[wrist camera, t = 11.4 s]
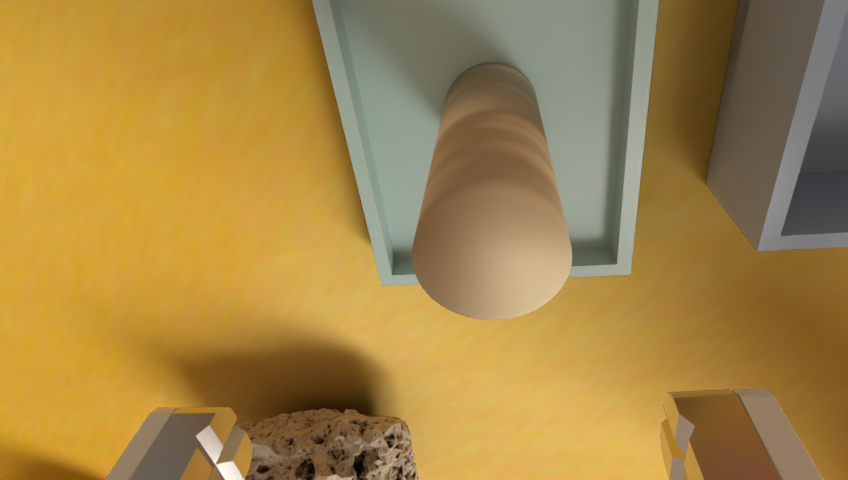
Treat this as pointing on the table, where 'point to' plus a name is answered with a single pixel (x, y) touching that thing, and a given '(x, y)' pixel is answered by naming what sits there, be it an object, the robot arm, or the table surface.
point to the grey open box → (785, 125)
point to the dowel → (491, 202)
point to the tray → (555, 90)
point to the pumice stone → (330, 447)
